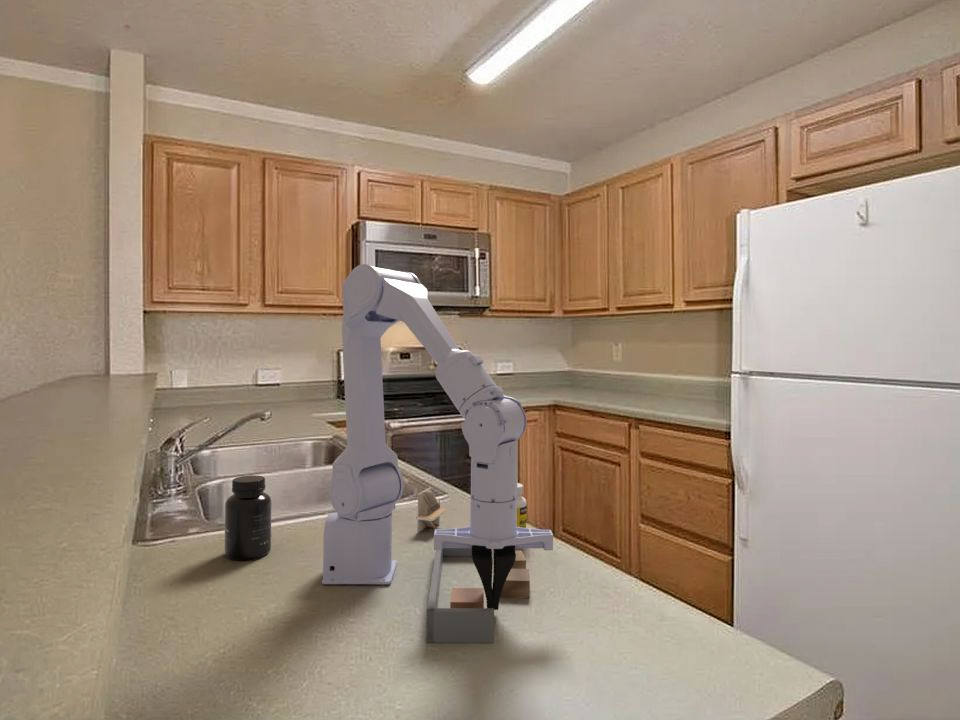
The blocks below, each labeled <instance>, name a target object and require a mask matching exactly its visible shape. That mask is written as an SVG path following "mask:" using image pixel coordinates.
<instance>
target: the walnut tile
mask: <svg viewBox="0 0 960 720" xmlns="http://www.w3.org/2000/svg"><path fill="white" fill-rule="evenodd" d="M530 583H531V579H530V569H528V568H526V569H511V570H510V572H509V574H508V576H507V579H506V581H505V584H504V586H503V589H502V593H501V596H500V598H511V597H525V598H524V599H530V598H531V597H530V596H531V595H530V594H531V593H530V592H531V589H530V588H531V584H530Z"/></svg>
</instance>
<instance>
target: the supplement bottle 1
mask: <svg viewBox="0 0 960 720" xmlns="http://www.w3.org/2000/svg"><path fill="white" fill-rule="evenodd" d="M231 481H232V484H231V492H232V493H233V494H232V495H231V496H229V497H227V499H226V501H225V502H224V556H225V557H226V558H227V559H229V560H231V561H236V562H246V561H252V560H253V561H254V560H257V559H261V558H263V557H265V556H267V555H268V554H269V553H270V552H271V549H272V498H271V496H270V495H269V494H268V493H267V492H265V490H266V489H267V488H266V477H264V476H262V475H253V474H252V475H251V474H250V475H241V476H238V477H234V478H233V479H232V480H231Z"/></svg>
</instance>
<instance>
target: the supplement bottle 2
mask: <svg viewBox="0 0 960 720" xmlns="http://www.w3.org/2000/svg"><path fill="white" fill-rule="evenodd" d="M523 494H524V485H523V484H522V483H520V482H517V527H522V528H527V516H528V515H527V508H528V503H527V499H526V498H525V497H523V496H522V495H523Z"/></svg>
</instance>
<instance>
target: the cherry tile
mask: <svg viewBox="0 0 960 720" xmlns="http://www.w3.org/2000/svg"><path fill="white" fill-rule="evenodd" d="M484 595H485V591H484V587H482V588H481V587H451V593H450V602H449V603H450V604H449V605H450V606H449V608H485V605H484V604H485V599H484Z"/></svg>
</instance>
